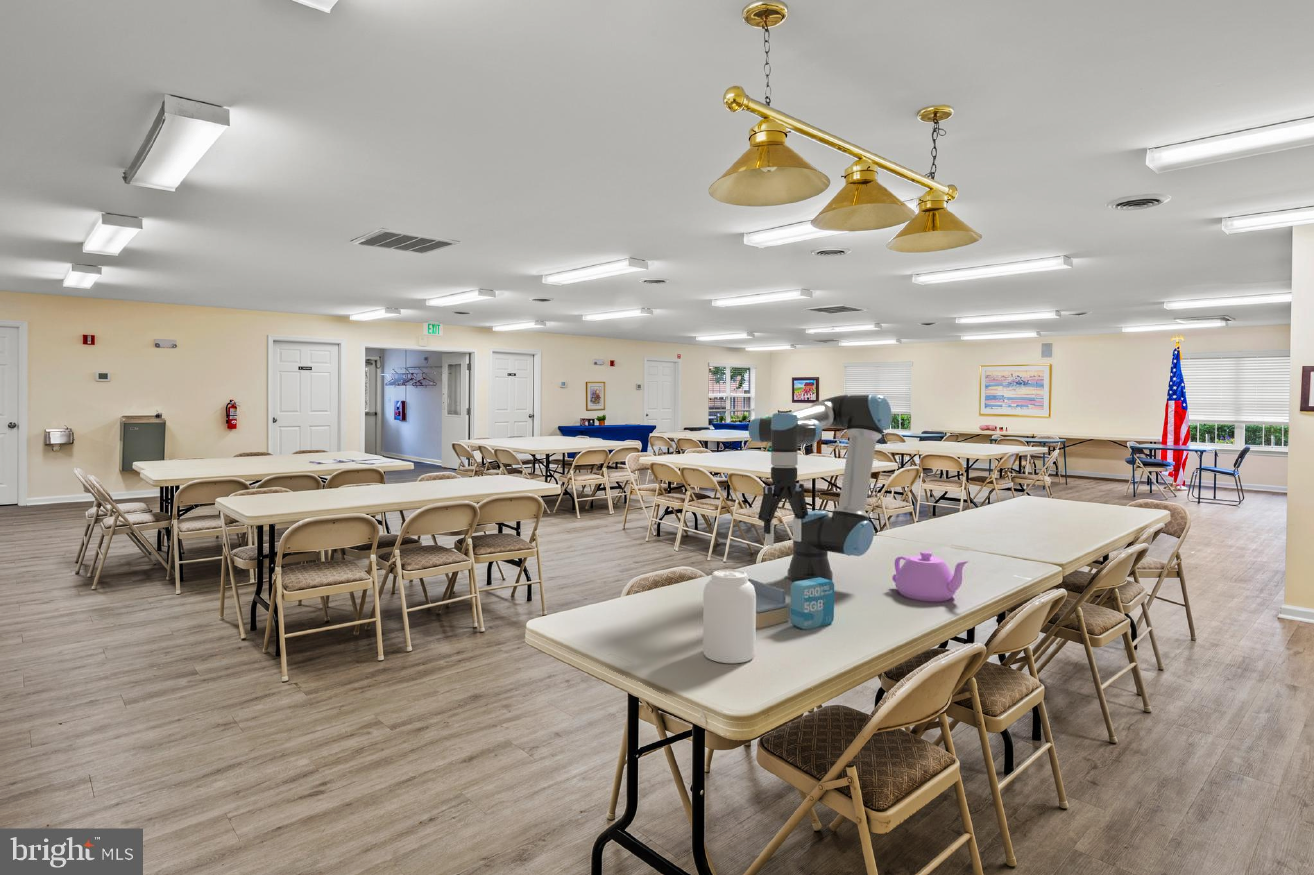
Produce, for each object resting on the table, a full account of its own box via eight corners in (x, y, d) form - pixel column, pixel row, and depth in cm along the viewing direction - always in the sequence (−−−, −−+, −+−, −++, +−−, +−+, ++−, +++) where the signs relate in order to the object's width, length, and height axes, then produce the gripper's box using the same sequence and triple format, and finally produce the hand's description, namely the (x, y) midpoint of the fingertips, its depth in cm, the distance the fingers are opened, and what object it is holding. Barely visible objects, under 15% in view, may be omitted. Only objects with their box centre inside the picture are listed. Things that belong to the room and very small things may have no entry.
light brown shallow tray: (747, 605, 202) (748, 592, 202) (788, 621, 188) (788, 606, 187) (718, 611, 196) (718, 598, 196) (758, 628, 182) (758, 613, 181)
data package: (801, 630, 180) (801, 586, 179) (789, 626, 184) (790, 582, 183) (834, 623, 186) (834, 580, 185) (822, 618, 190) (823, 576, 189)
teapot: (877, 592, 217) (877, 549, 216) (906, 582, 228) (907, 542, 227) (953, 610, 197) (954, 564, 197) (981, 599, 209) (983, 555, 208)
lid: (748, 591, 202) (748, 577, 201) (788, 605, 187) (788, 591, 187) (718, 597, 196) (718, 583, 195) (758, 612, 181) (758, 597, 181)
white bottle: (760, 664, 157) (761, 578, 156) (707, 665, 156) (707, 579, 155) (749, 644, 169) (749, 565, 168) (699, 646, 168) (699, 566, 167)
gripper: (803, 463, 205) (802, 536, 206) (745, 467, 193) (744, 544, 194) (821, 465, 199) (820, 540, 200) (763, 469, 186) (762, 549, 188)
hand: (783, 542), depth 197 cm, fingers open, 10 cm apart
